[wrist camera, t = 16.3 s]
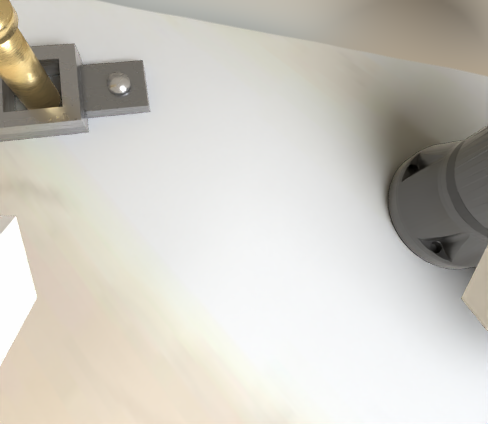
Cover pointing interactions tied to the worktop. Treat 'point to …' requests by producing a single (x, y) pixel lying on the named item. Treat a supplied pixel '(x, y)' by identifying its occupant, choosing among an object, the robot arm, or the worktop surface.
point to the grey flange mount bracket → (75, 95)
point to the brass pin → (23, 65)
